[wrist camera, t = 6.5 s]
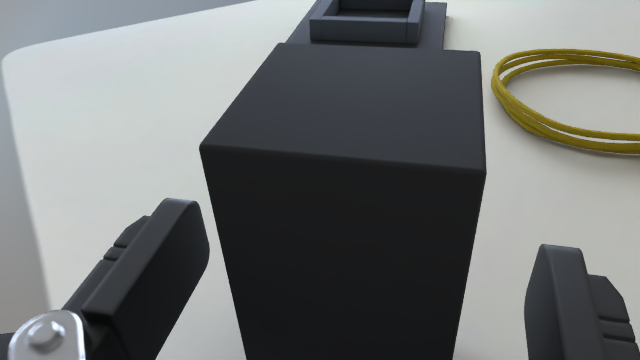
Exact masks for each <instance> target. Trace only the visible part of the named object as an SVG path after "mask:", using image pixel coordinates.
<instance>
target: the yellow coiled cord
mask: <svg viewBox="0 0 640 360" xmlns="http://www.w3.org/2000/svg"><path fill="white" fill-rule="evenodd" d="M540 54H543V55H540ZM571 54H576V55H571ZM530 55H536V56H531V57H526V58H522V59H519V60H516V61H513V62H510V63H507V62H508V61H511V60H513V59H516V58H519V57H525V56H530ZM584 55H591V56H584ZM592 56H599V57H607V58H614V59H621V60H626V61H621V60H613V59H606V58H599V57H592ZM544 59H568V60H554V61H547V62H540V63H535V64H531V65H528V66H524V67H521V68H518V69H516V70H514V71H512V72H510V73H509V74H508V75H506V76H505V77H504V78H503V80H502V81H500V79H499V75H500V74H501V73H502V72H504V71H505V70H507V69H509V68H512V67H514V66H517V65H520V64H523V63H527V62H531V61H537V60H544ZM628 61H630V62H628ZM505 63H507V64H505ZM504 64H505V65H504ZM569 64H590V65H606V66H613V67H620V68H627V69H632V70H636V71H640V58H637V57H633V56H628V55H623V54H617V53H609V52H602V51H593V50H579V49H539V50H529V51H523V52H518V53H514V54H511V55H509V56H506V57H504V58H503V59H501V60H500V61H499V62H498V63H497V64H496V66H495V68H494V70H493V76H492V79H491V88H492V91H493V92H494V94H495V96H496V97H497V98H498V99H499V101H500V102H501V103H502V105H503V107H504V108H505V110H506V111H507V113H508V114H509V115H510V116H511V117H512V118H513V119H514V120H515V121H516V122H517V123H518V124H519V125H520V126H522V127H523V128H525V129H526V130H528V131H530V132H531V133H533V134H536V135H539V136H541V137H544V138H547V139H550V140H553V141H556V142H560V143H564V144H568V145H572V146H575V147H580V148H586V149H591V150H597V151H603V152H613V153H622V154H640V143H604V142H596V141H589V140H584V139H579V138H575V137H571V136H568V135H565V134H562V133H559V132H557V131H554V130H551V129H550V128H548V127H546V126H545V125H547V126H549V127H552V128H554V129H557V130H560V131H563V132H567V133H570V134H575V135H580V136H585V137H592V138H601V139H610V140H627V141H640V134H627V133H610V132H601V131H591V130H585V129H580V128H576V127H571V126H567V125H564V124H561V123H558V122H556V121H553V120H551V119H548V118H546V117H544V116H542V115H541V114H539V113H537V112H536V111H534V110H532V109H530V108H529V107H527V106H526V105H524V104H523V103H521V102H520V101H519V100H517V99H516V98H515V97H514V96H513V95H511V94H510V93H509V92H508V91H507V90H506V88H505V85H506V84H507V82H508V81H509V80H510V79H511V78H512V77H514V76H516V75H518V74H520V73H522V72H525V71H528V70H532V69H536V68H540V67H547V66H554V65H569ZM519 109H520V110H519ZM523 112H524V113H523ZM526 114H527V115H526ZM528 115H529V116H530V117H529V116H528ZM531 117H532V118H531ZM533 118H534V119H535V120H534V119H533ZM536 120H537V121H536ZM538 121H539V122H541V123H543V124H545V125H543V124H541V123H539V122H538Z"/></svg>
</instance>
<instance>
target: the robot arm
mask: <svg viewBox="0 0 640 360" xmlns="http://www.w3.org/2000/svg"><path fill="white" fill-rule="evenodd" d="M209 253H210V248H209V242H208V238H207V234H206V230H205V226H204V222H203V218H202V214H201V209H200V206H199V204H198V203H197V202H196V201H190V200H182V199H173V198H166V199H164V200H163V201H162V202H161V203H160V204H159V206H158V207H157V208H156V210H155V211H154V212H153V214H152V215H151V216H143V217H141V218H140V219H139V220H137V221H136V222H134V223H133V224H131V225H130V226H128V227H127V228H126V229H125V230H124V231H123V233H122V234H121V235H120V236H119V238H118V239H117V240H116V241H115V243H114V246H113V247H111V248H110V249H109V250H108V251H107V253H106V254H105V255H104V256H103V257H104V258H103V260H100V261H99V263H98V264H97V265H96V266H95V268H94V269H93V270H92V272H91V273H90V274H89V275H88V277H87V278H86V279H85V280H84V282H83V283H82V284H81V285H80V287H79V288H78V289H77V290H76V292H75V293H74V294H73V295H72V297H71V298H70V299H69V300H68V302H67V303H66V304H65V305H64V307H63V308H62V309H61V310H53V311H49V312H45V313H43V314H40V315H38V316H36V317H34V318H32V319H31V320H29V321H28V322H26V323H25V324H24V325H23V326H22V327H21V328H20V329H19V330H18V331H17V332H14V333H6V334H0V360H155V359H156V357H157V355H158V354H159V352H160V350H161V348H162V346H163V345H164V343H165V341H166V339H167V337H168V336H169V334H170V332H171V330H172V329H173V327H174V325H175V323H176V321H177V320H178V318H179V316H180V314H181V312H182V311H183V309H184V307H185V305H186V303H187V302H188V300H189V298H190V296H191V294H192V293H193V291H194V289H195V287H196V286H197V284H198V282H199V280H200V278H201V277H202V275H203V273H204V271H205V269H206V267H207V264H208V260H209ZM524 319H525V329H526V338H527V348H528V357H529V360H640V352H639V348H638V345H637V343H635V335H634V332H633V329H632V326H631V324H629V321H630V319H629V316H628V313H627V309H626V306H625V303H624V300H623V297H622V296H621V295H620V293H619V292H618V291H617V290H616V288H615V287H614V286H613V285H612V284H611V282H610V281H609V280H608V279H607V277H605V276H598V275H590V274H588V273H587V269H586V265H585V261H584V257H583V254H582V251H581V250H580V249H579V248H572V247H564V246H556V245H547V244H542V245H541V246H540V248H539V251H538V254H537V257H536V261H535V264H534V267H533V271H532V274H531V277H530V281H529V284H528V288H527V291H526V296H525V305H524Z"/></svg>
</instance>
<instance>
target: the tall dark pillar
mask: <svg viewBox="0 0 640 360" xmlns="http://www.w3.org/2000/svg"><path fill="white" fill-rule="evenodd" d="M199 151H200V155H201V160H202V164H203V169H204V173H205V178H206V182H207V186H208V191H209V195H210V200H211V204H212V209H213V213H214V217H215V222H216V226H217V231H218V235H219V240H220V244H221V248H222V253H223V257H224V262H225V266H226V271H227V275H228V279H229V284H230V288H231V293H232V297H233V301H234V306H235V310H236V315H237V319H238V324H239V328H240V332H241V337H242V341H243V346H244V350H245V355H246V359H247V360H452V358H453V353H454V347H455V342H456V336H457V331H458V326H459V320H460V315H461V309H462V304H463V299H464V293H465V288H466V282H467V277H468V272H469V266H470V261H471V255H472V250H473V244H474V239H475V234H476V228H477V223H478V217H479V212H480V207H481V201H482V196H483V190H484V185H485V180H486V174H487V173H486V153H485V133H484V114H483V94H482V74H481V55H480V52H478V51H461V50H438V49H415V48H392V47H368V46H345V45H322V44H299V43H278V44H277V45H276V47H275V48H274V49H273V51H272V52H271V53H270V54H269V56H268V57H267V58H266V60H265V61H264V62H263V64H262V65H261V66H260V67H259V69H258V70H257V71H256V73H255V74H254V75H253V76H252V78H251V79H250V80H249V82H248V83H247V84H246V85H245V87H244V88H243V89H242V91H241V92H240V93H239V95H238V96H237V97H236V98H235V100H234V101H233V102H232V104H231V105H230V106H229V107H228V109H227V110H226V111H225V113H224V114H223V115H222V116H221V118H220V119H219V120H218V122H217V123H216V124H215V126H214V127H213V128H212V129H211V131H210V132H209V133H208V135H207V136H206V137H205V138H204V140H203V141H202V142H201V144H200V146H199Z"/></svg>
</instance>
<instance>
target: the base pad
mask: <svg viewBox="0 0 640 360" xmlns="http://www.w3.org/2000/svg"><path fill="white" fill-rule="evenodd" d="M446 8H447V3H439V2H425V0H317V1H316V2H315V3H314V5H313V6H312V7H311V9H310V10H309V12H308V13H307V14H306V16H305V17H304V18H303V20H302V21H301V22H300V24H299V25H298V26H297V28H296V29H295V30H294V32H293V33H292V34H291V36H290V37H289V38H288V40H287V41H286V42H285V43H299V44H322V45H345V46H368V47H392V48H415V49H438V50H442V48H443V38H444V28H445V18H446Z"/></svg>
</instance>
